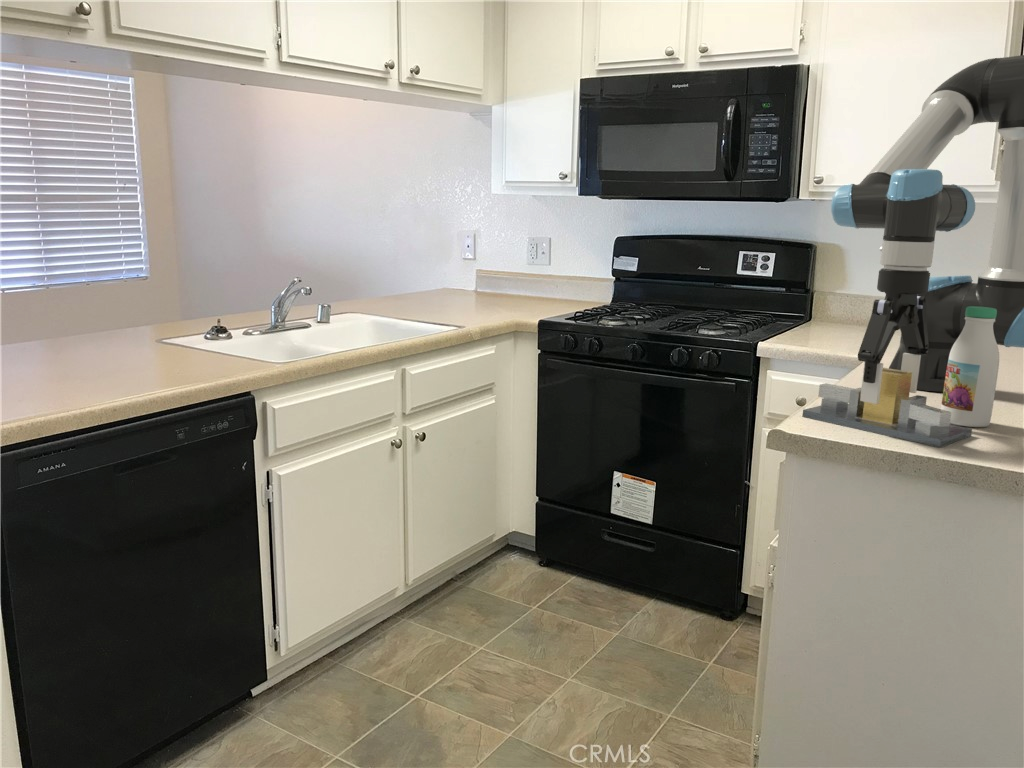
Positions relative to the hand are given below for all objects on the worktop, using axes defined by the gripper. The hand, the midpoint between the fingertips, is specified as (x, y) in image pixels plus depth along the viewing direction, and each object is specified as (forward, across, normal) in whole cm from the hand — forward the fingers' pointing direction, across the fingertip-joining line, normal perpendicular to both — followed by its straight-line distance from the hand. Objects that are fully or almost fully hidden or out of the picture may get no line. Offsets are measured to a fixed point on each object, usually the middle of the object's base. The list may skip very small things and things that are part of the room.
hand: (888, 396), depth 137 cm
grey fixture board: (+5, 0, 0) cm, 5 cm away
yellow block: (+4, 0, 0) cm, 4 cm away
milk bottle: (+5, -15, +7) cm, 17 cm away
